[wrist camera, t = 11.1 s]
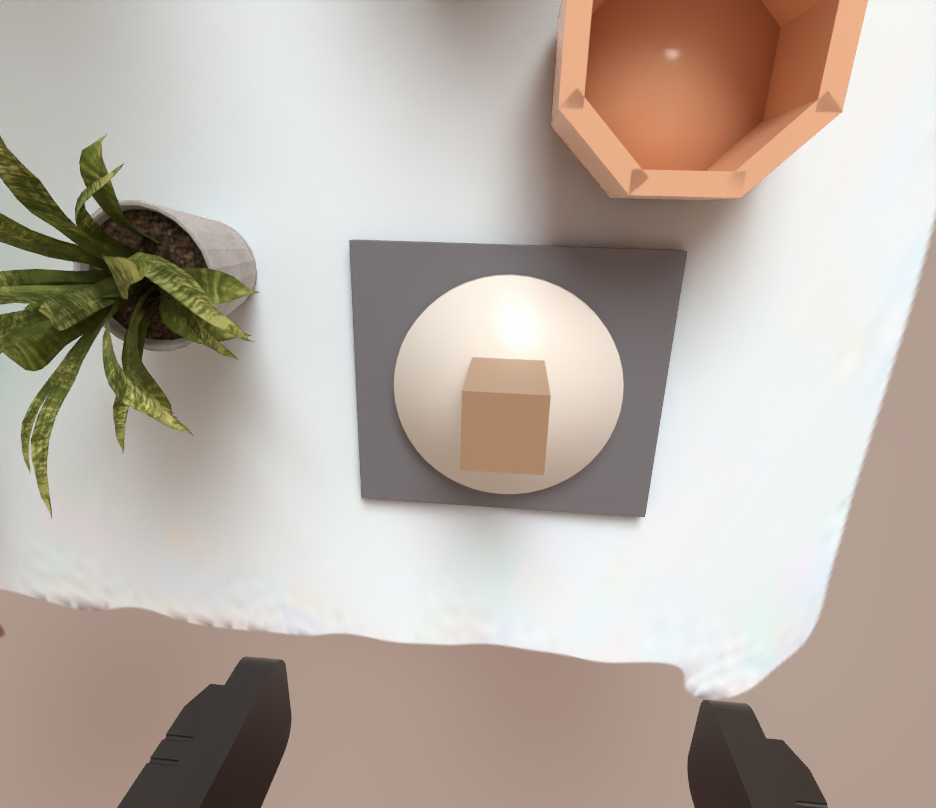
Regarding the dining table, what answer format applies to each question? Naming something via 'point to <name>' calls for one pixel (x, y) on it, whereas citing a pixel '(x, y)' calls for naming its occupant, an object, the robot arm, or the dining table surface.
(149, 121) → the dining table surface
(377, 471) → the mat
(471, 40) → the dining table surface
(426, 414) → the lid
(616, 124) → the bowl
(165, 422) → the house plant
